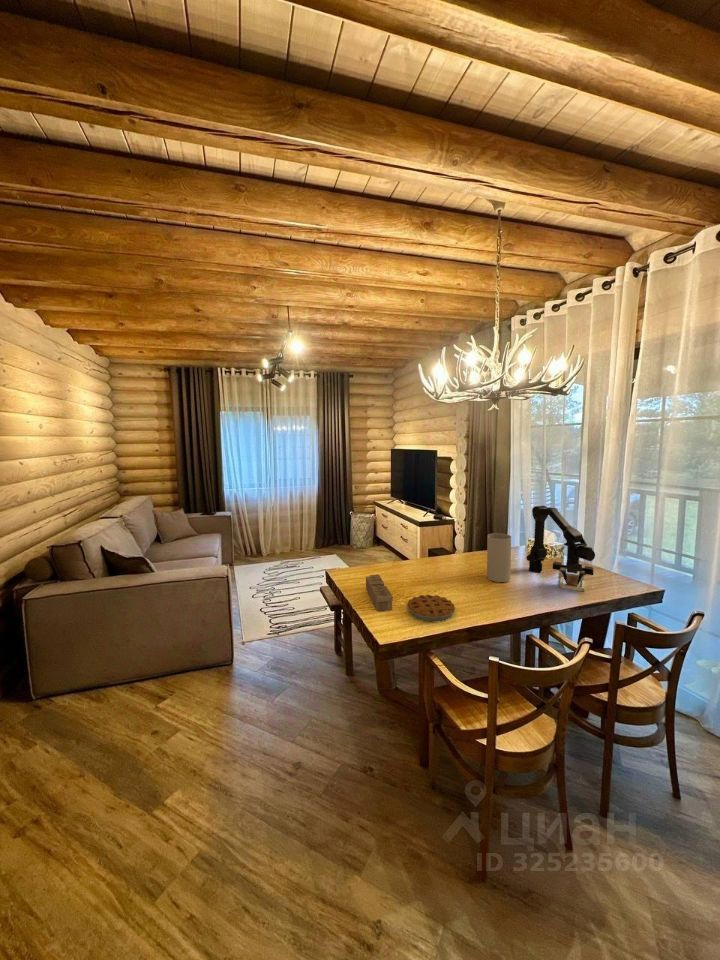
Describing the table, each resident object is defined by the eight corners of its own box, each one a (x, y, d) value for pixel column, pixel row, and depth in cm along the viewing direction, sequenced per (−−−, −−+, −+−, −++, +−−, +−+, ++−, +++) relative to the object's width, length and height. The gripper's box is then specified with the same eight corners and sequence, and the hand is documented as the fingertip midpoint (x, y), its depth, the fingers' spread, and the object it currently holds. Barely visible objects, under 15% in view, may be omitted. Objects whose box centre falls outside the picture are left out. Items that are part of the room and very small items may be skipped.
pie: (463, 620, 163) (463, 610, 163) (417, 627, 159) (417, 616, 158) (442, 600, 185) (442, 590, 184) (401, 605, 180) (400, 595, 180)
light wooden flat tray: (559, 587, 197) (559, 584, 196) (561, 579, 207) (561, 576, 207) (584, 591, 190) (584, 588, 190) (584, 583, 201) (584, 580, 201)
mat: (558, 578, 209) (558, 577, 209) (560, 572, 217) (560, 572, 217) (583, 582, 202) (583, 581, 202) (583, 576, 211) (583, 575, 211)
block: (566, 587, 196) (566, 576, 196) (566, 583, 201) (567, 573, 200) (577, 589, 194) (577, 578, 193) (577, 585, 198) (578, 574, 197)
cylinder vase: (504, 574, 216) (505, 532, 213) (514, 582, 204) (515, 538, 201) (483, 575, 216) (484, 533, 213) (491, 583, 203) (492, 539, 201)
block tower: (365, 590, 201) (376, 613, 172) (365, 575, 200) (376, 596, 171) (379, 589, 202) (393, 611, 173) (379, 574, 201) (392, 594, 172)
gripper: (551, 556, 194) (550, 585, 195) (594, 562, 184) (592, 592, 185) (554, 551, 203) (553, 578, 205) (594, 556, 193) (592, 585, 195)
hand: (572, 583), depth 197 cm, fingers closed on block, 5 cm apart
